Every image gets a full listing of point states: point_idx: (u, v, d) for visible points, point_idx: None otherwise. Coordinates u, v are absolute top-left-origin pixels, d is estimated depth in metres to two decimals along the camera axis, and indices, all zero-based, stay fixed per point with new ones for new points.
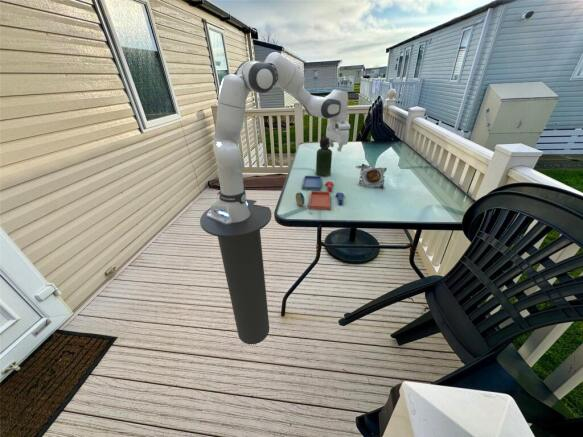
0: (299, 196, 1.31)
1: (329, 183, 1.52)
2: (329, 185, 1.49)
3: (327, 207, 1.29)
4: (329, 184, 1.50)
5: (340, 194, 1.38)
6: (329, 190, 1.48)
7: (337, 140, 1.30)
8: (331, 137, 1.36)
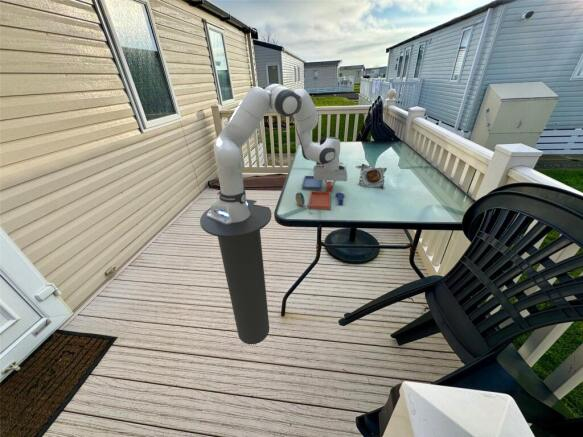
0: (299, 196, 1.31)
1: (329, 183, 1.52)
2: (329, 185, 1.49)
3: (327, 207, 1.29)
4: (329, 184, 1.50)
5: (340, 194, 1.38)
6: (329, 190, 1.48)
7: (338, 178, 1.46)
8: (326, 178, 1.47)
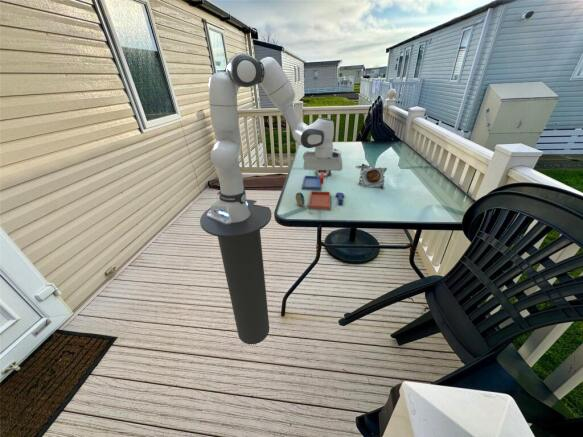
0: (299, 196, 1.31)
1: (322, 173, 1.31)
2: (322, 176, 1.28)
3: (327, 207, 1.29)
4: (322, 174, 1.30)
5: (340, 194, 1.38)
6: (321, 181, 1.27)
7: (332, 168, 1.26)
8: (318, 167, 1.26)
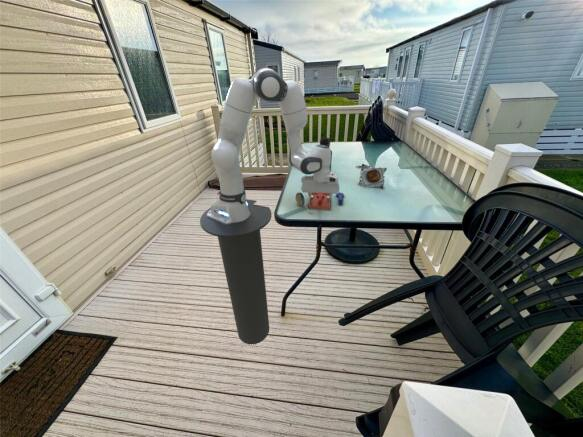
0: (299, 196, 1.31)
1: (320, 196, 1.36)
2: (320, 198, 1.33)
3: (327, 207, 1.29)
4: (320, 197, 1.34)
5: (340, 194, 1.38)
6: (319, 204, 1.32)
7: (329, 191, 1.30)
8: (316, 191, 1.31)
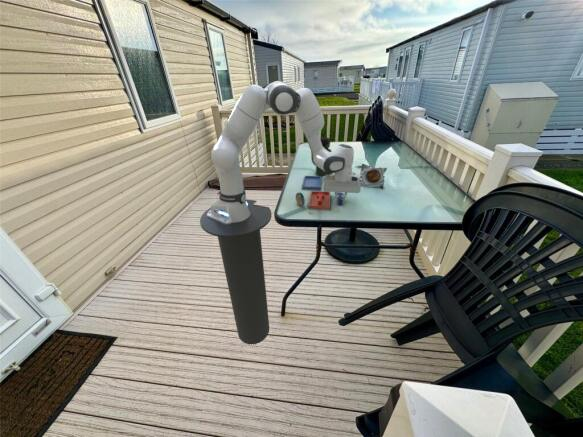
0: (299, 196, 1.31)
1: (320, 196, 1.36)
2: (320, 198, 1.33)
3: (327, 207, 1.29)
4: (320, 197, 1.34)
5: (340, 194, 1.38)
6: (319, 204, 1.32)
7: (351, 190, 1.32)
8: (337, 190, 1.33)
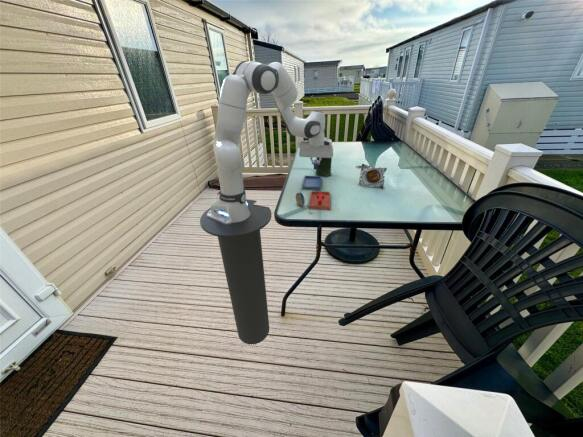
0: (299, 196, 1.31)
1: (320, 196, 1.36)
2: (320, 198, 1.33)
3: (327, 207, 1.29)
4: (320, 197, 1.34)
5: (315, 160, 1.49)
6: (319, 204, 1.32)
7: (324, 155, 1.42)
8: (312, 155, 1.43)
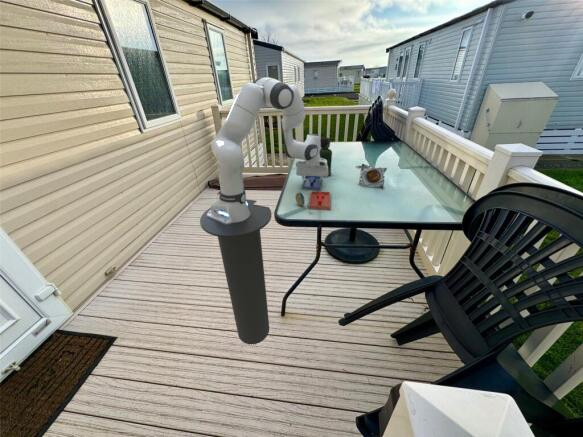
0: (299, 196, 1.31)
1: (320, 196, 1.36)
2: (320, 198, 1.33)
3: (327, 207, 1.29)
4: (320, 197, 1.34)
5: (312, 178, 1.58)
6: (319, 204, 1.32)
7: (320, 174, 1.51)
8: (308, 174, 1.52)
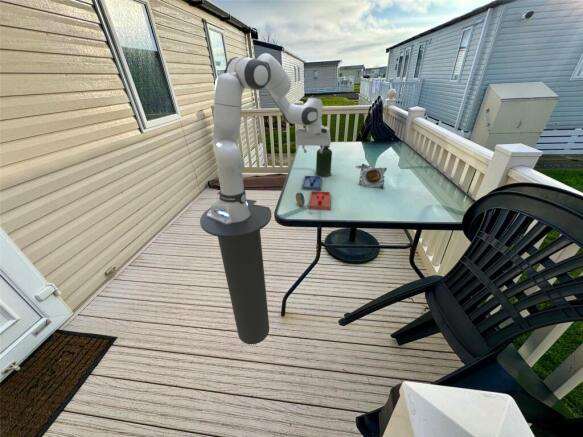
0: (299, 196, 1.31)
1: (320, 196, 1.36)
2: (320, 198, 1.33)
3: (327, 207, 1.29)
4: (320, 197, 1.34)
5: (312, 178, 1.58)
6: (319, 204, 1.32)
7: (321, 143, 1.41)
8: (309, 143, 1.42)
